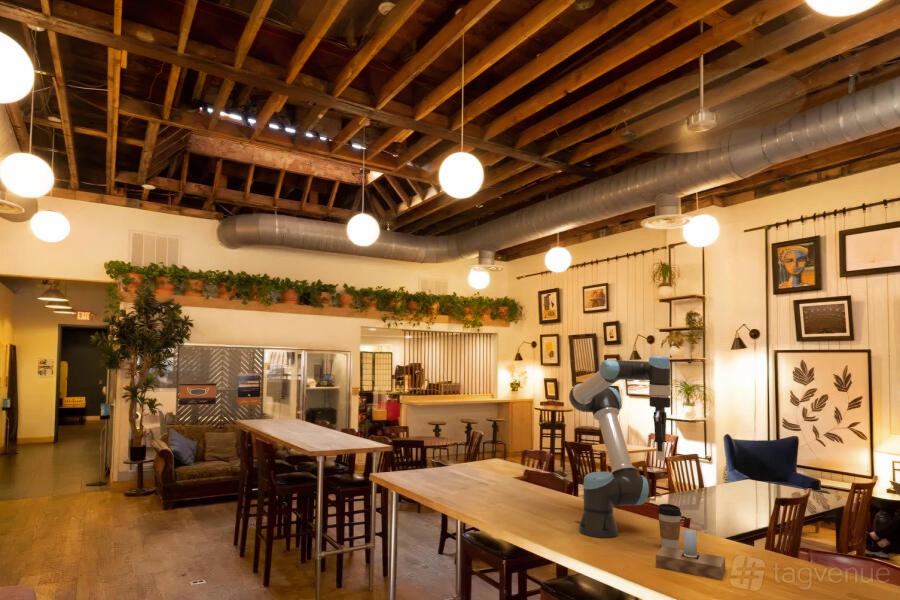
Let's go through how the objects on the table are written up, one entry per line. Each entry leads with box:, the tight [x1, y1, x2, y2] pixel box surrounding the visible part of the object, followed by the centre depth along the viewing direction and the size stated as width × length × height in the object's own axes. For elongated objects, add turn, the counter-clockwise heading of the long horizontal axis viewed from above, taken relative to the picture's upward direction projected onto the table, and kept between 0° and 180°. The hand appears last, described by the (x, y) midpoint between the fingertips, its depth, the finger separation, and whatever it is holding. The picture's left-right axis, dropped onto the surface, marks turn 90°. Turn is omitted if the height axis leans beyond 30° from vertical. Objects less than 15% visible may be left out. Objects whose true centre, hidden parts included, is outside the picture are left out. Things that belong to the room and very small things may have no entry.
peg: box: [683, 529, 698, 559], centre depth 190 cm, size 4×4×12 cm
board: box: [655, 545, 726, 581], centre depth 189 cm, size 20×12×4 cm, turn 59°
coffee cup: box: [657, 503, 682, 549], centre depth 212 cm, size 8×8×15 cm
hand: (660, 460), depth 212 cm, fingers closed
